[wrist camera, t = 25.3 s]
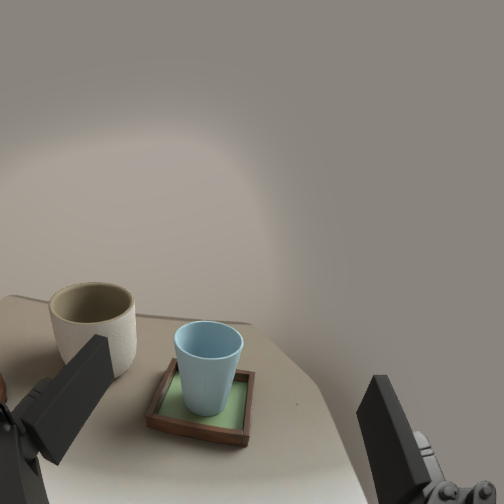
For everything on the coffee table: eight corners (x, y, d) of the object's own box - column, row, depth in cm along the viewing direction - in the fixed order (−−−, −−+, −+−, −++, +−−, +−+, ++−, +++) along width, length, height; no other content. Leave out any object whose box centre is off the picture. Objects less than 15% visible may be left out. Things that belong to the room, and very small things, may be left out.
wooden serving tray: (253, 383, 40) (255, 371, 40) (247, 446, 29) (249, 436, 28) (172, 369, 40) (172, 357, 40) (146, 427, 29) (144, 415, 28)
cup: (175, 381, 37) (175, 318, 34) (230, 382, 39) (237, 321, 36) (175, 421, 30) (172, 357, 27) (238, 421, 32) (249, 359, 29)
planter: (155, 360, 42) (152, 298, 38) (102, 404, 30) (86, 337, 27) (100, 332, 45) (94, 275, 42) (48, 364, 34) (33, 300, 31)
